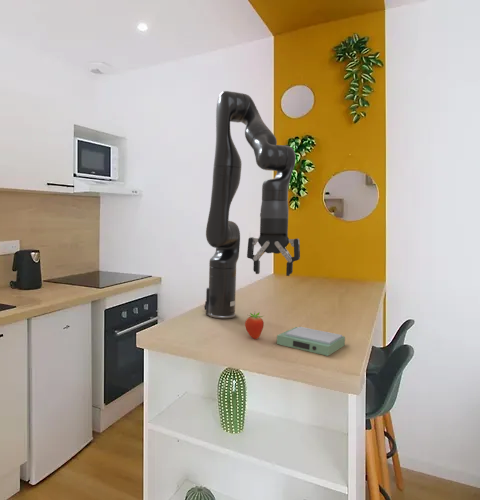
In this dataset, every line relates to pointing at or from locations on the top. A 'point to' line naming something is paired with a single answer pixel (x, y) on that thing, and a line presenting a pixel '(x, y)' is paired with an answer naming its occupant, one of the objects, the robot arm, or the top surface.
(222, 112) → the robot arm
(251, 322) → the fruit
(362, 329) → the top surface
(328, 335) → the scale
